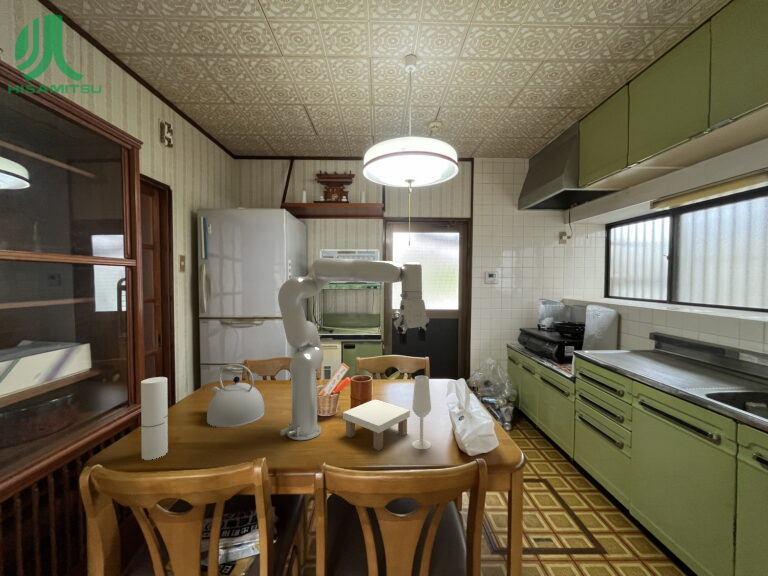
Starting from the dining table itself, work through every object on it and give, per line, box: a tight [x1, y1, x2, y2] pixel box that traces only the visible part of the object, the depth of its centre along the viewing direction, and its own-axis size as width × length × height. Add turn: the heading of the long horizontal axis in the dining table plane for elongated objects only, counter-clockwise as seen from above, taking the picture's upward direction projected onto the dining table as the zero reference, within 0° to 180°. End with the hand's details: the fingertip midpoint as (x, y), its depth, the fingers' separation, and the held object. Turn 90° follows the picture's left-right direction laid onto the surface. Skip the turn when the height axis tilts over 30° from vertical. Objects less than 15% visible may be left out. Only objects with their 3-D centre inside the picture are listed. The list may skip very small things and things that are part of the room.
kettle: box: [206, 363, 265, 428], centre depth 140 cm, size 25×23×23 cm
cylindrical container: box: [140, 376, 169, 461], centre depth 108 cm, size 7×7×25 cm
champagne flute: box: [411, 375, 432, 450], centre depth 115 cm, size 7×7×24 cm
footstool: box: [342, 399, 411, 451], centre depth 122 cm, size 18×18×9 cm
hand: (412, 342), depth 119 cm, fingers open, 9 cm apart
